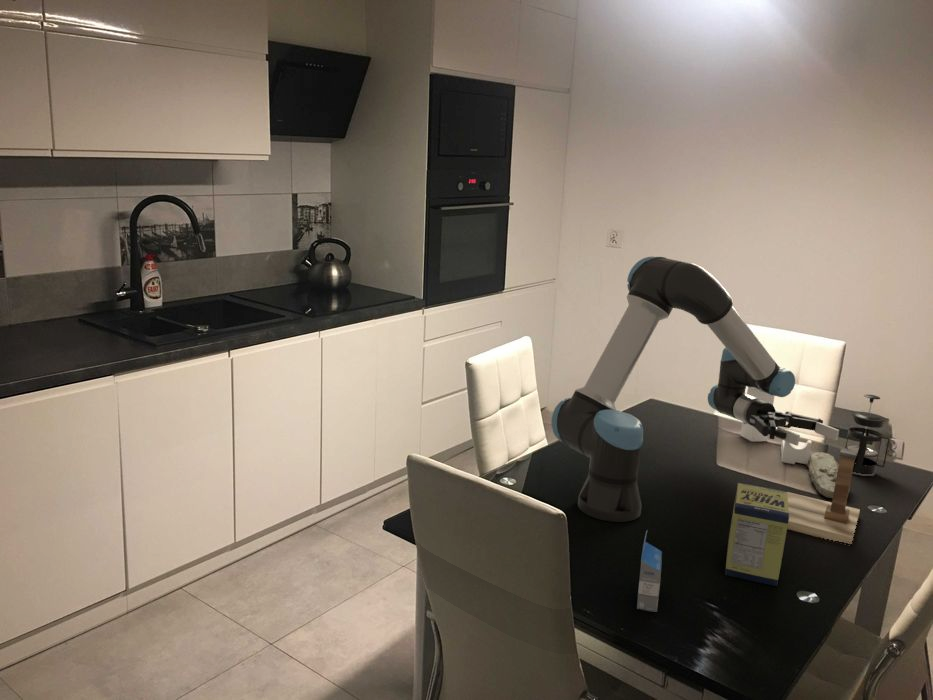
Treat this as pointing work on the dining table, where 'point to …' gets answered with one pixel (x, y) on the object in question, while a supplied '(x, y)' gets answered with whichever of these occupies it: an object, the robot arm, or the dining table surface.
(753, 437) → the milk
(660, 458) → the dining table surface
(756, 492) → the protein box
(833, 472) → the elongated rock
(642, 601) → the label tape box
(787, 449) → the bracket
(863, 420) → the french press
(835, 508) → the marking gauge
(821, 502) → the pine board
